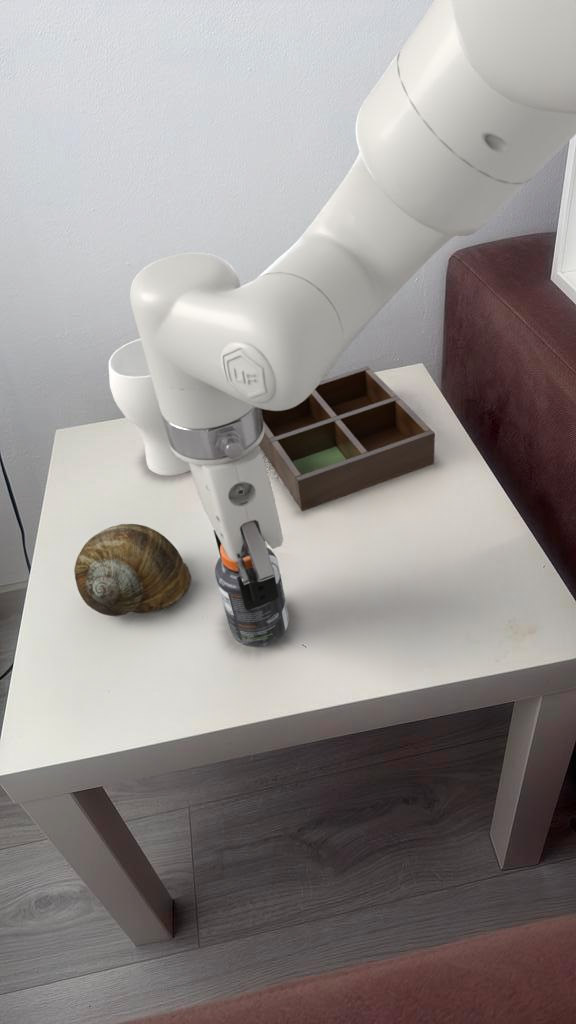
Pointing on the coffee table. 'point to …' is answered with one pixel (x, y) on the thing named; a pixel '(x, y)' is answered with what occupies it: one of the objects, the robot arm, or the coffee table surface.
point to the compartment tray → (345, 439)
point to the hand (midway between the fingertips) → (248, 577)
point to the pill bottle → (255, 623)
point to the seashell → (130, 571)
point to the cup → (142, 407)
